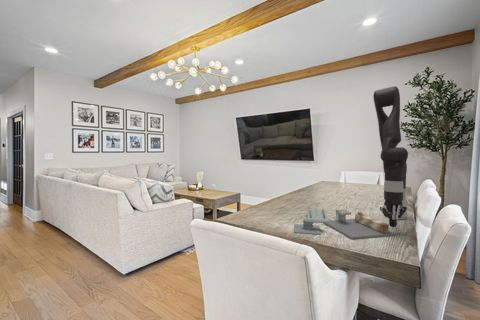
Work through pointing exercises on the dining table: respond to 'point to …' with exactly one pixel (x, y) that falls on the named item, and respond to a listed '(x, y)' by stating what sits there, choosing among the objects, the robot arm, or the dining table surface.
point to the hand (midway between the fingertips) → (392, 226)
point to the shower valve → (308, 227)
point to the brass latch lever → (372, 223)
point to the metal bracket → (317, 215)
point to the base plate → (356, 229)
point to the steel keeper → (341, 215)
